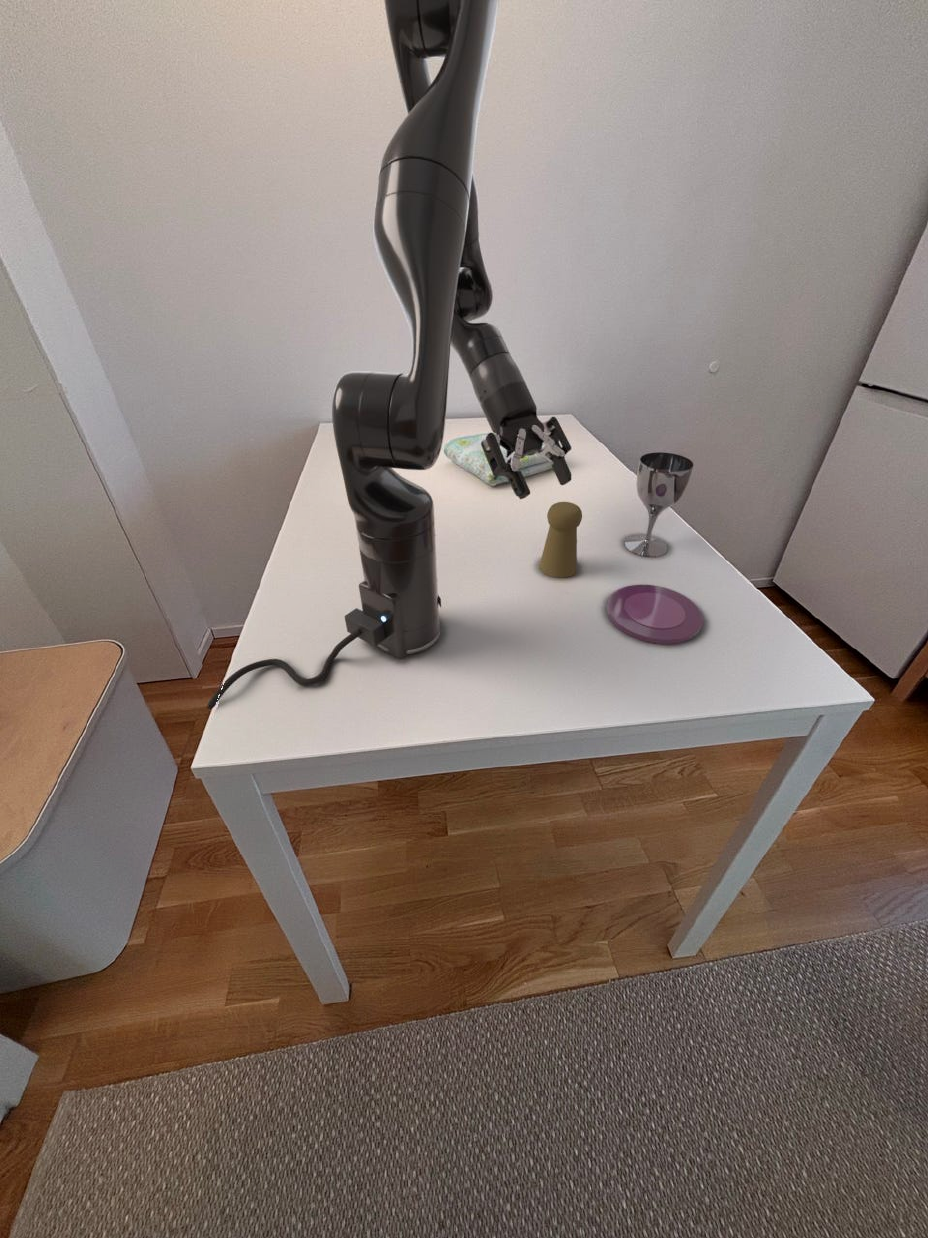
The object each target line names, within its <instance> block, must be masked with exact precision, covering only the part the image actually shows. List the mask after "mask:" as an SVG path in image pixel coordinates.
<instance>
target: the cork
mask: <svg viewBox="0 0 928 1238" xmlns="http://www.w3.org/2000/svg"><path fill="white" fill-rule="evenodd" d="M546 516H547V517H546V518H547V523H548V524H549V527H548V531H547V535H546V538H545V542H544V546H543V550H542V553H541V554H542V555H541V558H540V562H539V570H540V571H541V573H543V574H544V575H546V576H549V577H550V578H556V579H565V578H566V579H567V578H570V577H572V576H574V574H576V573H577V570H578V527H579V526H580V524H581V522H582V520H583V512H582V509H581V507H580V506H579V505H577V504H576V503H574V502H570V501H558V502H556V503H553V504H552V505H550V507H549V509H548V511H547V514H546Z"/></svg>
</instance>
